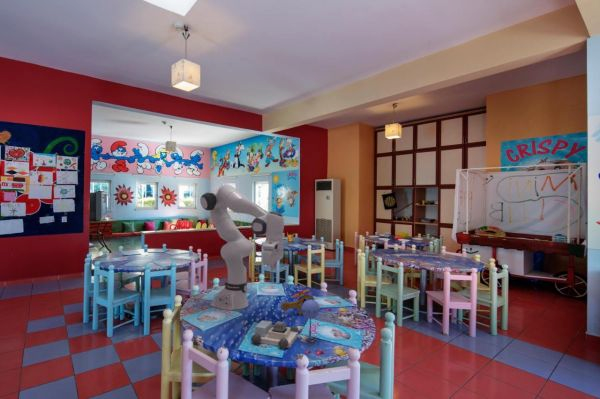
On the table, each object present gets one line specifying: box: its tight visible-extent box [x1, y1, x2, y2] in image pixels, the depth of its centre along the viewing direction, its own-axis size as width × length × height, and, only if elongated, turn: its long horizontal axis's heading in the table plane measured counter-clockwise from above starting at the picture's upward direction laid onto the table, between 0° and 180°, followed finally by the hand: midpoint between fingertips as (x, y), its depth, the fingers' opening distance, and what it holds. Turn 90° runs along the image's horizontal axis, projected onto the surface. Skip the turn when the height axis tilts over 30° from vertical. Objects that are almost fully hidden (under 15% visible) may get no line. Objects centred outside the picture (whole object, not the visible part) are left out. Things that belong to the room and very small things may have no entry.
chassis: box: [250, 319, 299, 350], centre depth 145 cm, size 18×16×6 cm
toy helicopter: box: [280, 288, 315, 316], centre depth 176 cm, size 8×21×14 cm, turn 120°
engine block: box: [272, 320, 287, 333], centre depth 144 cm, size 5×4×6 cm
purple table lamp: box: [301, 299, 321, 341], centre depth 146 cm, size 9×9×18 cm
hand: (273, 270), depth 161 cm, fingers closed
